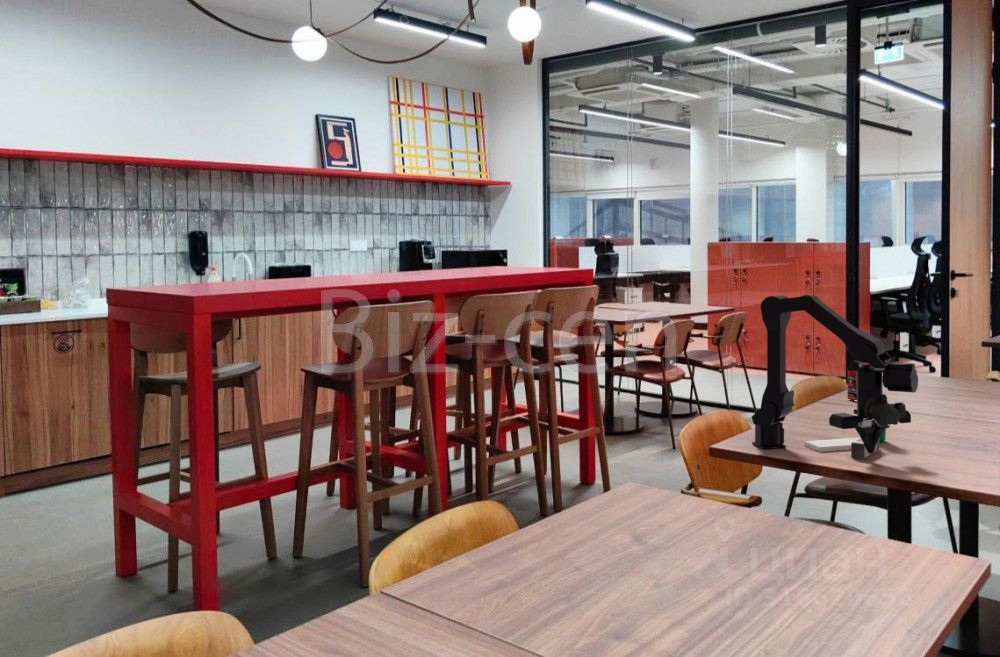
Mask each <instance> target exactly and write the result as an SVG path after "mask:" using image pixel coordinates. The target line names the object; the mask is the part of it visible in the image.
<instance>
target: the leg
mask: <svg viewBox="0 0 1000 657" xmlns="http://www.w3.org/2000/svg"><path fill="white" fill-rule="evenodd" d="M879 449H880V442H879V439H878V441H877V444H876V446H875V449H874V452H873V453H872V454H874V453H877V452H876V451H877V450H879ZM872 454H870V453H868V451H867V449H866V447H865V445H864V443H863V441H862V439H859V440H857V441H855V442H852V443H851V450H850V458H855V459H860V460H865V458H867V457H868V456H871V455H872Z"/></svg>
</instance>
